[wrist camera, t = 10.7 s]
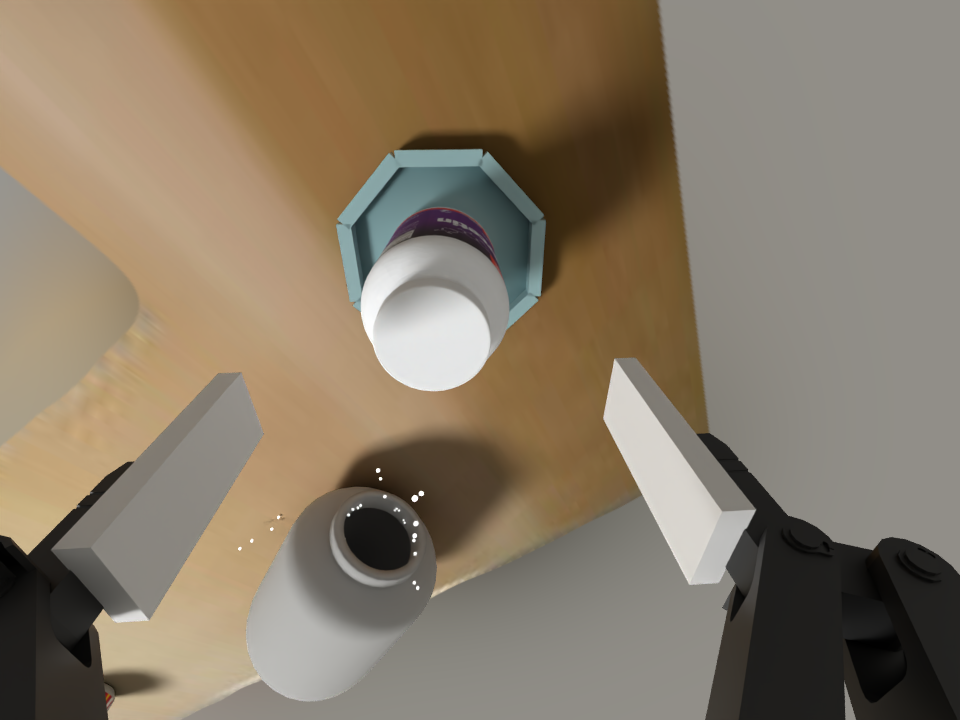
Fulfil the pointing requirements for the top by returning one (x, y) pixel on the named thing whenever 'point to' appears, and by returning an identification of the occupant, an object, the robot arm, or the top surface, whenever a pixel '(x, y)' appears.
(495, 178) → the dish
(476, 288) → the pill bottle
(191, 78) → the top surface
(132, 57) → the top surface
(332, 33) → the top surface
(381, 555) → the jar
